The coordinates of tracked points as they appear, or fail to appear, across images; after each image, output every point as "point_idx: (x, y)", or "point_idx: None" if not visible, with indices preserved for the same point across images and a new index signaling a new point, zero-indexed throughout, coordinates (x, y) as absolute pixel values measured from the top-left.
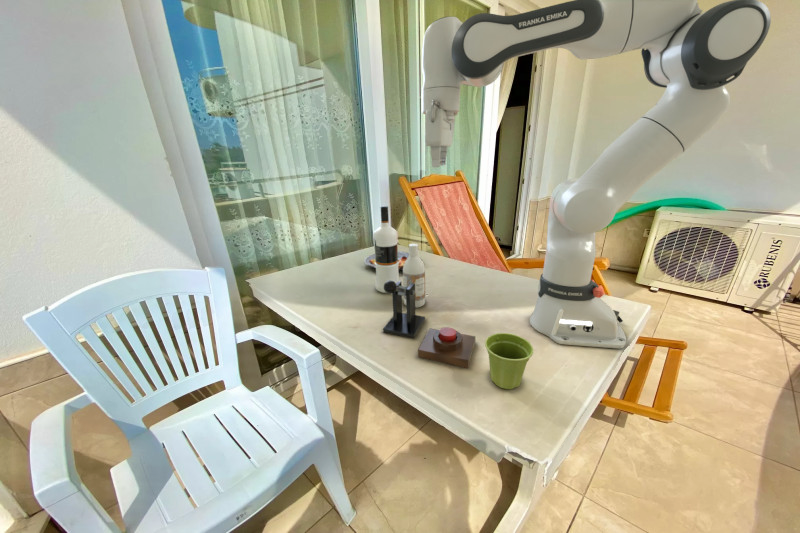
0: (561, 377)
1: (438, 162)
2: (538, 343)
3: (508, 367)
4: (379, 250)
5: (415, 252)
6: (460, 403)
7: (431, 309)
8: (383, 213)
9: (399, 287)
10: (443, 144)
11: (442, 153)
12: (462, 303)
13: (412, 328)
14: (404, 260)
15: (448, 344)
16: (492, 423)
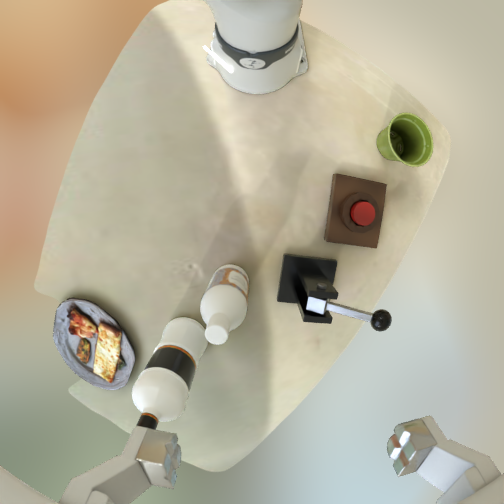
0: (370, 87)
1: (438, 431)
2: (311, 92)
3: (422, 144)
4: (189, 389)
5: (227, 321)
6: (425, 193)
7: (245, 249)
8: None
9: (324, 312)
10: (497, 484)
11: (120, 495)
12: (211, 199)
13: (322, 266)
14: (79, 328)
15: (378, 210)
16: (437, 166)
